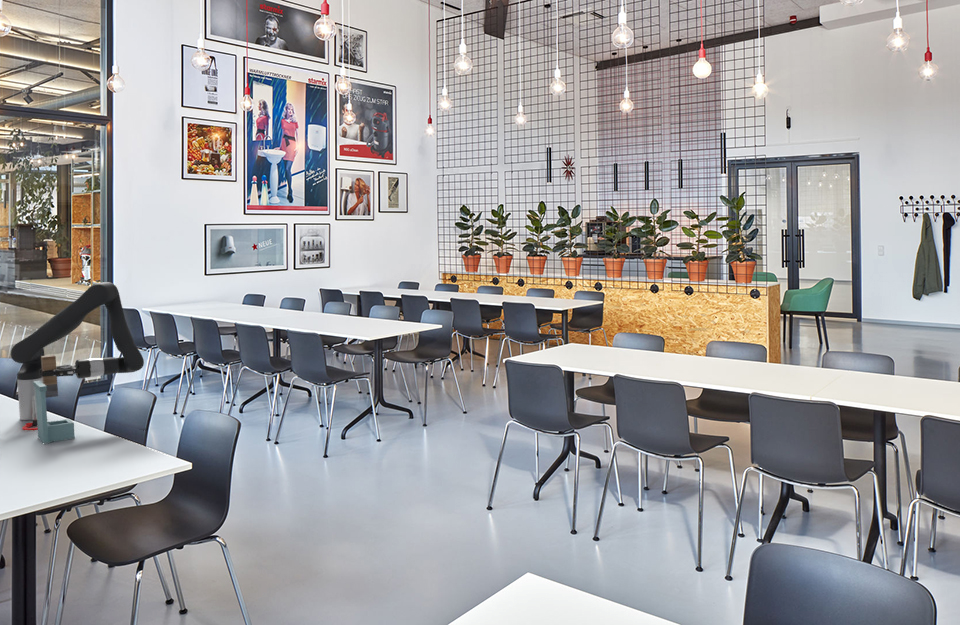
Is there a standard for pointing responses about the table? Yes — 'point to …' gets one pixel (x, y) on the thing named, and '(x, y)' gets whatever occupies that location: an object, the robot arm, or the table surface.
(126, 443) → the table surface
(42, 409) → the teal holder stand
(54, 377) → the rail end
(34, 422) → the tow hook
